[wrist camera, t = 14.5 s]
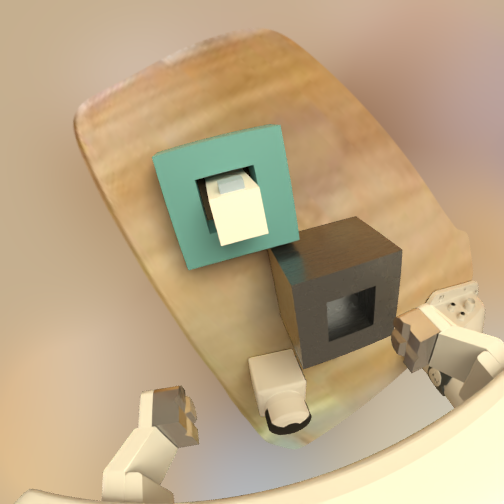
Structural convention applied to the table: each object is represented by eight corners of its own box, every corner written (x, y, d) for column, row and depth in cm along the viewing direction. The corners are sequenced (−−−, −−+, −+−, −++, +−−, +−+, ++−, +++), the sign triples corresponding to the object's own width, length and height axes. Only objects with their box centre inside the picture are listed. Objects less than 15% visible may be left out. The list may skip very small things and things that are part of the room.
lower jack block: (269, 124, 28) (280, 125, 25) (288, 226, 34) (299, 239, 30) (157, 152, 28) (152, 157, 24) (188, 253, 33) (188, 270, 30)
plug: (239, 161, 30) (257, 177, 22) (249, 202, 32) (268, 233, 24) (202, 170, 29) (206, 190, 21) (213, 212, 32) (221, 246, 24)
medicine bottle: (292, 375, 46) (315, 431, 36) (251, 384, 45) (267, 443, 35) (292, 347, 43) (318, 407, 32) (247, 357, 42) (264, 421, 32)
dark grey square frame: (355, 216, 35) (402, 249, 26) (357, 291, 41) (393, 334, 32) (265, 240, 34) (291, 285, 25) (280, 317, 40) (303, 369, 31)
